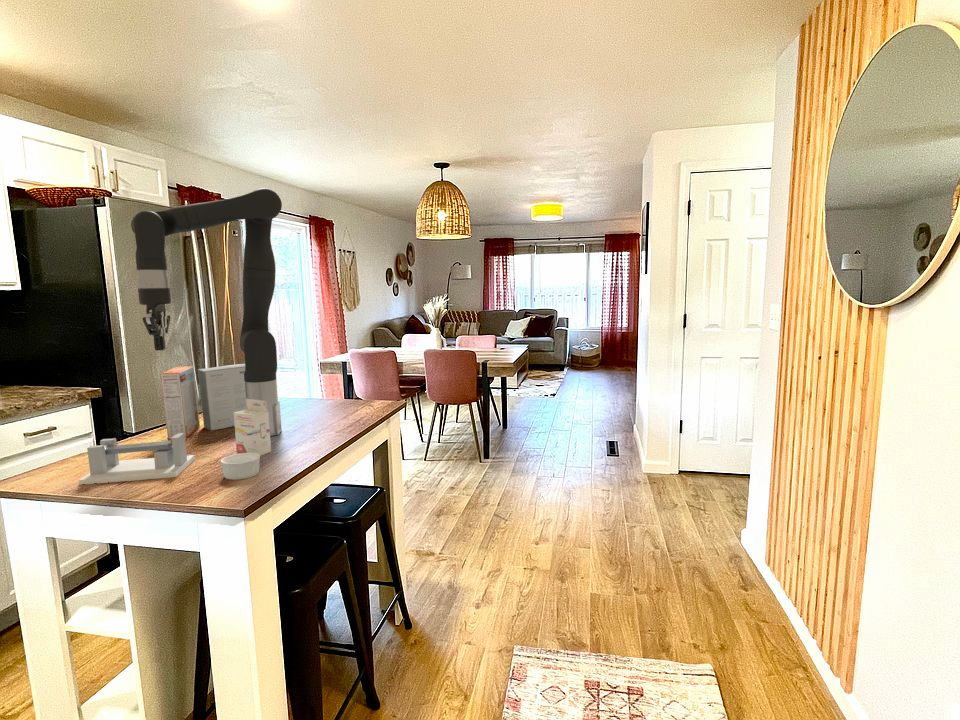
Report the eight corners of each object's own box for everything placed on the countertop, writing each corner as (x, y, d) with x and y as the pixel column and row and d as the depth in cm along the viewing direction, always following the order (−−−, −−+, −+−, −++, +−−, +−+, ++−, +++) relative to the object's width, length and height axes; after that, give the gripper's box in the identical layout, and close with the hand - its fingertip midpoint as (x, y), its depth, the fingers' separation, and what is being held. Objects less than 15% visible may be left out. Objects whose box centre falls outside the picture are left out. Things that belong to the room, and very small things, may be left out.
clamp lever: (174, 446, 135) (173, 438, 135) (168, 450, 132) (167, 442, 131) (102, 453, 132) (101, 444, 132) (94, 457, 128) (93, 449, 128)
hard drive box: (250, 418, 186) (245, 363, 184) (258, 422, 181) (253, 365, 178) (202, 427, 176) (197, 368, 173) (209, 431, 170) (203, 370, 168)
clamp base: (195, 459, 141) (192, 428, 140) (176, 477, 128) (172, 442, 127) (108, 465, 137) (104, 433, 136) (79, 484, 124) (74, 449, 123)
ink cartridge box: (235, 453, 146) (231, 401, 144) (250, 448, 150) (246, 398, 148) (258, 457, 142) (253, 404, 140) (272, 451, 147) (268, 400, 145)
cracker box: (180, 428, 174) (174, 366, 172) (200, 427, 176) (194, 365, 173) (166, 440, 161) (159, 372, 158) (187, 438, 162) (181, 371, 159)
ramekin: (235, 468, 134) (233, 451, 133) (268, 468, 133) (267, 452, 132) (214, 480, 125) (212, 463, 124) (249, 481, 124) (247, 464, 123)
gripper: (159, 286, 137) (165, 352, 140) (177, 287, 150) (183, 347, 153) (127, 287, 136) (134, 353, 138) (148, 287, 149) (155, 348, 151)
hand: (160, 349), depth 145 cm, fingers closed
